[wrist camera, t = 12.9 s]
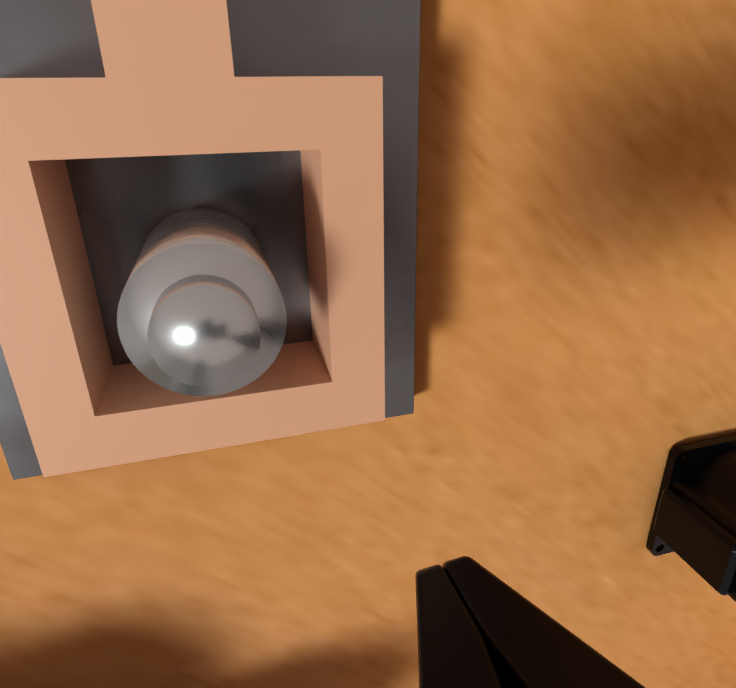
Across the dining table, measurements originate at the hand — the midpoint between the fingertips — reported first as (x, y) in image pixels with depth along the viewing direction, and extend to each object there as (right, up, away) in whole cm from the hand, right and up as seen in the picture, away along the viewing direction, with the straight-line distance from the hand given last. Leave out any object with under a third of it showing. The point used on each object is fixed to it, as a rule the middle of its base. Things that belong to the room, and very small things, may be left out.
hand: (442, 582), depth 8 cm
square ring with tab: (-6, +8, +6) cm, 12 cm away
